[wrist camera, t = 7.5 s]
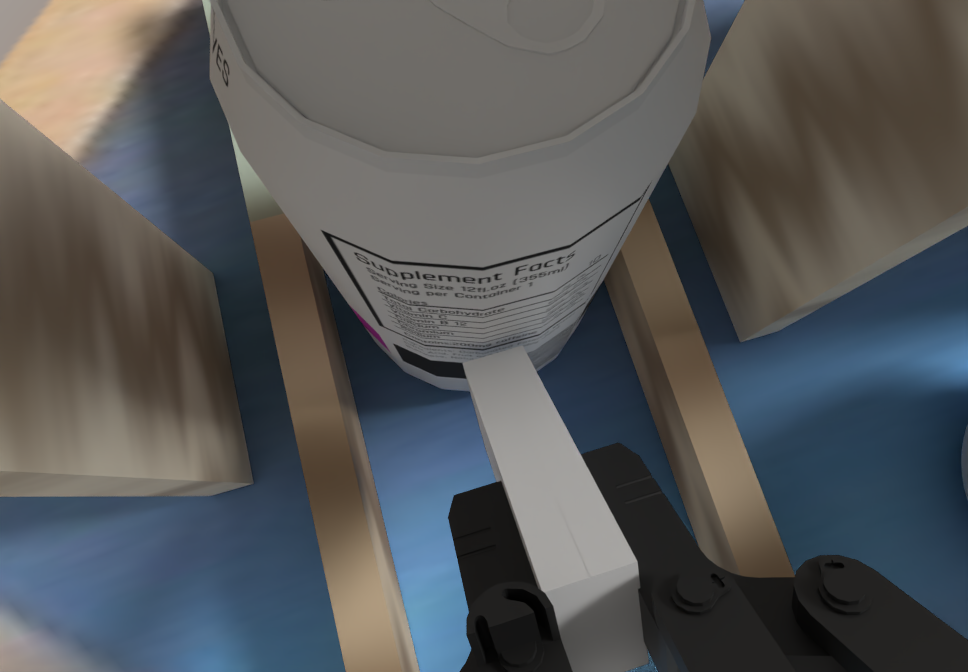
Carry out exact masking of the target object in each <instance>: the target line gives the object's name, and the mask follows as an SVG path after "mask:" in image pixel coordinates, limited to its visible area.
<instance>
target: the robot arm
mask: <svg viewBox="0 0 968 672" xmlns="http://www.w3.org/2000/svg"><path fill="white" fill-rule="evenodd" d="M463 367H464V371H465V375H466V378H467V382H468V386H469V389H470V393H471V397H472V401H473V404H474V408H475V412H476V415H477V419H478V423H479V427H480V430H481V434H482V438H483V441H484V445H485V449H486V452H487V455H488V458H489V461H490V464H491V467H492V470H493V473H494V476H495V479H496V482H495V483H492V484H489V485H486V486H482V487H479V488H476V489H473V490H469V491H466V492H463V493H460V494H457V495H454V497H453V501H452V505H451V508H450V512H449V516H448V519H449V523H450V528H451V532H452V537H453V541H454V546H455V550H456V555H457V559H458V564H459V569H460V573H461V578H462V582H463V587H464V591H465V596H466V600H467V605H468V609H469V614H468V617H467V638H468V640H469V643H470V646H471V652H470V654H469V657H468V659H467V661H466V663H465V665H464V666H463V667H462V669H461V670H460V672H625V671H628V670H631V669H634V668H637V667H640V666H643V665H646V664H649V659H648V651H649V653H650V655H651V657H652V659H653V662H654V664H655V666H656V668H657V670H658V672H968V640H967V639H966V638H964V637H963V636H962V635H960V634H959V633H958V632H956V631H955V630H954V629H952V628H951V627H950V626H948V625H947V624H946V623H944V622H943V621H942V620H940V619H939V618H938V617H936V616H935V615H934V614H933V613H931V612H930V611H929V610H927V609H926V608H925V607H923V606H922V605H921V604H919V603H918V602H917V601H915V600H914V599H913V598H911V597H910V596H909V595H907V594H906V593H905V592H903V591H902V590H901V589H899V588H898V587H897V586H895V585H894V584H893V583H891V582H890V581H889V580H887V579H886V578H885V577H883V576H882V575H881V574H879V573H878V572H877V571H876V570H874V569H872V568H870V567H869V566H867V565H865V564H863V563H862V562H860V561H858V560H855V559H851V558H847V557H844V556H840V555H820V556H817V557H815V558H812V559H809V560H807V561H805V562H804V563H803V564H802V565H801V567H800V568H799V569H798V570H797V571H796V575H795V577H766V578H757V577H746V576H741V575H738V574H734V573H731V572H729V571H726V570H724V569H723V568H721V567H719V566H717V565H716V564H714V563H713V562H712V561H711V560H709V559H708V558H707V557H706V556H705V554H704V553H703V552H702V551H701V550H700V548H699V547H698V545H697V544H696V542H695V540H694V539H693V537H692V536H691V534H690V533H689V531H688V530H687V528H686V527H685V525H684V524H683V522H682V521H681V519H680V518H679V516H678V515H677V513H676V511H675V510H674V508H673V507H672V505H671V504H670V502H669V501H668V499H667V498H666V496H665V495H664V494H663V493H662V491H661V489H660V487H659V485H658V484H657V482H656V481H655V479H654V478H652V475H651V473H650V472H649V470H648V469H647V467H646V466H645V464H644V463H643V461H642V459H641V458H640V456H639V455H637V454H636V453H634V452H633V451H631V450H630V449H628V448H627V447H625V446H624V445H622V444H621V443H615V444H612V445H609V446H606V447H603V448H599V449H596V450H593V451H590V452H587V453H583V454H580V453H579V451H578V449H577V447H576V445H575V443H574V441H573V439H572V437H571V436H570V434H569V432H568V430H567V428H566V426H565V424H564V422H563V421H562V419H561V417H560V415H559V413H558V411H557V409H556V407H555V406H554V404H553V402H552V400H551V398H550V396H549V394H548V392H547V390H546V389H545V387H544V385H543V383H542V381H541V379H540V377H539V375H538V374H537V372H536V370H535V368H534V366H533V364H532V362H531V360H530V358H529V357H528V355H527V353H526V351H525V349H524V347H523V345H522V346H519V347H515V348H512V349H508V350H505V351H502V352H498V353H495V354H491V355H488V356H485V357H481V358H478V359H474V360H471V361H468V362H464V363H463ZM647 649H648V650H647Z"/></svg>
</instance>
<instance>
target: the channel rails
mask: <svg viewBox="0 0 968 672" xmlns="http://www.w3.org/2000/svg"><path fill="white" fill-rule="evenodd" d="M202 1H203V6H204V11H205V15H206V20H207V25H208V29H209V34H210V19H211V3H210V0H202ZM229 128H230V126H229ZM230 132H231V137H232V142H233V146H234V151H235V156H236V160H237V165H238V170H239V174H240V179H241V184H242V188H243V193H244V198H245V202H246V207H247V212H248V216H249V221H250V226H251V230H252V235H253V240H254V244H255V249H256V254H257V258H258V263H259V268H260V273H261V277H262V282H263V287H264V291H265V296H266V301H267V305H268V310H269V315H270V319H271V324H272V329H273V333H274V338H275V343H276V347H277V352H278V357H279V361H280V366H281V371H282V375H283V380H284V385H285V389H286V394H287V399H288V403H289V408H290V413H291V417H292V422H293V427H294V432H295V436H296V441H297V446H298V450H299V455H300V460H301V464H302V469H303V474H304V478H305V483H306V488H307V492H308V497H309V502H310V506H311V511H312V516H313V520H314V525H315V530H316V534H317V539H318V544H319V548H320V553H321V558H322V562H323V567H324V572H325V576H326V581H327V586H328V591H329V595H330V600H331V605H332V609H333V614H334V619H335V623H336V628H337V633H338V637H339V642H340V647H341V651H342V656H343V661H344V665H345V670H346V672H420V670H419V666H418V662H417V658H416V654H415V650H414V645H413V641H412V637H411V633H410V629H409V625H408V620H407V616H406V612H405V608H404V604H403V600H402V595H401V591H400V587H399V583H398V579H397V575H396V571H395V566H394V562H393V558H392V554H391V550H390V546H389V541H388V537H387V533H386V529H385V525H384V521H383V516H382V512H381V508H380V504H379V500H378V496H377V491H376V487H375V483H374V479H373V475H372V471H371V467H370V462H369V458H368V454H367V450H366V446H365V442H364V437H363V433H362V429H361V425H360V421H359V417H358V412H357V408H356V404H355V400H354V396H353V392H352V387H351V383H350V379H349V375H348V371H347V367H346V362H345V358H344V354H343V350H342V346H341V342H340V338H339V333H338V329H337V325H336V321H335V317H334V313H333V308H332V304H331V300H330V296H329V292H328V288H327V283H326V279H325V275H324V271H323V267H322V266H321V265H320V263H319V262H318V260H317V259H316V258H315V256H314V255H313V253H312V252H311V250H310V249H309V248H308V246H307V245H306V243H305V242H304V241H303V239H302V238H301V236H300V235H299V233H298V232H297V231H296V229H295V228H294V226H293V225H292V224H291V222H290V221H289V219H288V218H287V217H286V215H285V214H284V212H283V211H282V209H281V208H280V207H279V205H278V204H277V202H276V201H275V200H274V198H273V197H272V195H271V194H270V193H269V191H268V190H267V188H266V187H265V185H264V184H263V183H262V181H261V180H260V178H259V177H258V176H257V174H256V173H255V171H254V170H253V168H252V167H251V166H250V164H249V163H248V161H247V160H246V159H245V157H244V156H243V154H242V153H241V152H240V149H239V147H238V145H237V142H236V140H235V137H234V135H233V133H232V130H231V128H230ZM604 282H605V285H606V288H607V290H608V293H609V296H610V299H611V302H612V304H613V307H614V310H615V313H616V316H617V318H618V321H619V324H620V327H621V330H622V332H623V335H624V338H625V341H626V344H627V346H628V349H629V352H630V355H631V358H632V360H633V363H634V366H635V369H636V372H637V375H638V377H639V380H640V383H641V386H642V389H643V391H644V394H645V397H646V400H647V403H648V405H649V408H650V411H651V414H652V417H653V419H654V422H655V425H656V428H657V431H658V433H659V436H660V439H661V442H662V445H663V448H664V450H665V453H666V456H667V459H668V462H669V464H670V467H671V470H672V473H673V476H674V478H675V481H676V484H677V487H678V490H679V492H680V495H681V498H682V501H683V504H684V506H685V509H686V512H687V515H688V518H689V520H690V523H691V526H692V529H693V532H694V535H695V537H696V540H697V543H698V546H699V548H700V550H701V551H702V552H703V553H704V554H705V556H706V557H707V558H708V559H709V560H711V561H712V562H713V563H714V564H716V565H717V566H719V567H721V568H723V569H724V570H726V571H729V572H731V573H734V574H738V575H741V576H746V577H757V578H766V577H795V574H794V572H793V569H792V566H791V564H790V561H789V559H788V556H787V554H786V551H785V548H784V546H783V543H782V541H781V538H780V535H779V533H778V530H777V528H776V525H775V523H774V520H773V517H772V515H771V512H770V510H769V507H768V505H767V502H766V499H765V497H764V494H763V492H762V489H761V487H760V484H759V481H758V479H757V476H756V474H755V471H754V469H753V466H752V463H751V461H750V458H749V456H748V453H747V450H746V448H745V445H744V443H743V440H742V438H741V435H740V432H739V430H738V427H737V425H736V422H735V420H734V417H733V414H732V412H731V409H730V407H729V404H728V402H727V399H726V396H725V394H724V391H723V389H722V386H721V384H720V381H719V378H718V376H717V373H716V371H715V368H714V365H713V363H712V360H711V358H710V355H709V353H708V350H707V347H706V345H705V342H704V340H703V337H702V335H701V332H700V329H699V327H698V324H697V322H696V319H695V317H694V314H693V311H692V309H691V306H690V304H689V301H688V299H687V296H686V293H685V291H684V288H683V286H682V283H681V280H680V278H679V275H678V273H677V270H676V268H675V265H674V262H673V260H672V257H671V255H670V252H669V250H668V247H667V244H666V242H665V239H664V237H663V234H662V232H661V229H660V226H659V224H658V221H657V219H656V216H655V214H654V211H653V208H652V206H651V203H650V201H649V199H648V201H647V202H646V204H645V206H644V208H643V210H642V211H641V213H640V215H639V217H638V219H637V220H636V222H635V224H634V226H633V228H632V229H631V231H630V233H629V235H628V237H627V238H626V240H625V242H624V244H623V246H622V247H621V249H620V251H619V253H618V255H617V256H616V258H615V260H614V262H613V264H612V265H611V267H610V269H609V271H608V273H607V274H606V276H605V278H604Z"/></svg>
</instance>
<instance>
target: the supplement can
mask: <svg viewBox="0 0 968 672" xmlns="http://www.w3.org/2000/svg"><path fill="white" fill-rule="evenodd" d="M210 3H211V19H210V81H211V83H212V86H213V88H214V90H215V93H216V95H217V97H218V100H219V102H220V104H221V107H222V109H223V112H224V114H225V116H226V119H227V121H228V123H229V126H230V128H231V130H232V133H233V135H234V137H235V140H236V142H237V145H238V147H239V149H240V152H241V153H242V154H243V156H244V157H245V159H246V160H247V161H248V163H249V164H250V166H251V167H252V168H253V170H254V171H255V173H256V174H257V176H258V177H259V178H260V180H261V181H262V183H263V184H264V185H265V187H266V188H267V190H268V191H269V193H270V194H271V195H272V197H273V198H274V200H275V201H276V202H277V204H278V205H279V207H280V208H281V209H282V211H283V212H284V214H285V215H286V217H287V218H288V219H289V221H290V222H291V224H292V225H293V226H294V228H295V229H296V231H297V232H298V233H299V235H300V236H301V238H302V239H303V241H304V242H305V243H306V245H307V246H308V248H309V249H310V250H311V252H312V253H313V255H314V256H315V258H316V259H317V260H318V262H319V263H320V265H321V266H322V267H323V269H324V270H325V272H326V273H327V274H328V276H329V277H330V279H331V280H332V282H333V283H334V284H335V286H336V287H337V289H338V290H339V291H340V293H341V294H342V296H343V297H344V298H345V300H346V301H347V303H348V304H349V306H350V307H351V308H352V310H353V311H354V313H355V314H356V315H357V317H358V318H359V320H360V321H361V323H362V324H363V325H364V327H365V328H366V330H367V331H368V332H369V334H370V335H371V337H372V338H373V339H374V341H375V342H376V344H377V345H378V346H379V347H380V348H381V349H382V350H383V351H384V352H385V353H386V354H387V355H388V356H389V357H390V358H391V359H392V360H393V361H394V362H395V363H396V364H397V365H398V366H399V367H400V368H401V369H402V370H403V371H404V372H405V373H408V374H410V375H412V376H414V377H416V378H419V379H421V380H423V381H425V382H427V383H430V384H432V385H434V386H436V387H438V388H441V389H446V390H459V391H470V389H469V386H468V382H467V378H466V375H465V371H464V367H463V363H464V362H468V361H471V360H474V359H478V358H481V357H485V356H488V355H491V354H495V353H498V352H502V351H505V350H508V349H512V348H515V347H519V346H522V345H523V347H524V349H525V351H526V353H527V355H528V357H529V358H530V360H531V362H532V364H533V366H534V368H535V370H536V372H537V371H539V370H540V369H542V368H543V367H544V366H546V365H547V364H549V363H550V362H551V361H553V360H554V359H556V358H557V356H558V355H559V353H560V352H561V350H562V349H563V347H564V346H565V344H566V343H567V341H568V340H569V338H570V337H571V335H572V334H573V332H574V331H575V329H576V328H577V326H578V325H579V323H580V321H581V319H582V318H583V316H584V314H585V312H586V310H587V309H588V307H589V305H590V303H591V301H592V300H593V298H594V296H595V294H596V292H597V291H598V289H599V287H600V285H601V283H602V282H603V280H604V278H605V276H606V274H607V273H608V271H609V269H610V267H611V265H612V264H613V262H614V260H615V258H616V256H617V255H618V253H619V251H620V249H621V247H622V246H623V244H624V242H625V240H626V238H627V237H628V235H629V233H630V231H631V229H632V228H633V226H634V224H635V222H636V220H637V219H638V217H639V215H640V213H641V211H642V210H643V208H644V206H645V204H646V202H647V201H648V199H649V197H650V195H651V193H652V192H653V190H654V188H655V186H656V184H657V183H658V181H659V179H660V177H661V175H662V174H663V172H664V170H665V168H666V166H667V165H668V163H669V161H670V159H671V157H672V156H673V154H674V152H675V150H676V148H677V146H678V145H679V143H680V141H681V139H682V137H683V136H684V134H685V132H686V130H687V128H688V127H689V125H690V123H691V121H692V119H693V118H694V116H695V114H696V112H697V107H698V102H699V97H700V92H701V86H702V81H703V76H704V71H705V66H706V61H707V56H708V51H709V46H710V41H711V34H710V30H709V25H708V21H707V16H706V12H705V7H704V2H703V0H210Z"/></svg>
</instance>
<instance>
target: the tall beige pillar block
mask: <svg viewBox="0 0 968 672" xmlns="http://www.w3.org/2000/svg"><path fill="white" fill-rule="evenodd" d="M668 164H669V167H670V169H671V172H672V174H673V177H674V179H675V182H676V184H677V187H678V189H679V192H680V194H681V197H682V199H683V202H684V204H685V207H686V209H687V212H688V214H689V217H690V219H691V221H692V224H693V226H694V229H695V231H696V234H697V236H698V239H699V241H700V244H701V246H702V249H703V251H704V254H705V256H706V259H707V261H708V264H709V266H710V269H711V271H712V274H713V276H714V279H715V281H716V284H717V286H718V289H719V291H720V293H721V296H722V298H723V301H724V303H725V306H726V308H727V311H728V313H729V316H730V318H731V321H732V323H733V326H734V328H735V331H736V333H737V336H738V338H739V341H740V342H743V341H747V340H750V339H754V338H757V337H760V336H764V335H767V334H771V333H774V332H778V331H780V330H782V329H783V328H785V327H787V326H789V325H791V324H792V323H794V322H796V321H798V320H800V319H801V318H803V317H805V316H807V315H809V314H810V313H812V312H814V311H816V310H817V309H819V308H821V307H823V306H825V305H826V304H828V303H830V302H832V301H834V300H835V299H837V298H839V297H841V296H843V295H844V294H846V293H848V292H850V291H852V290H853V289H855V288H857V287H859V286H861V285H862V284H864V283H866V282H868V281H870V280H871V279H873V278H875V277H877V276H879V275H880V274H882V273H884V272H886V271H888V270H889V269H891V268H893V267H895V266H897V265H898V264H900V263H902V262H904V261H906V260H907V259H909V258H911V257H913V256H915V255H916V254H918V253H920V252H922V251H923V250H925V249H927V248H929V247H931V246H932V245H934V244H936V243H938V242H940V241H941V240H943V239H945V238H947V237H949V236H950V235H952V234H954V233H956V232H958V231H959V230H961V229H963V228H965V227H967V226H968V0H745V1H744V3H743V5H742V7H741V9H740V11H739V12H738V14H737V16H736V18H735V20H734V22H733V24H732V26H731V28H730V30H729V31H728V33H727V35H726V37H725V39H724V41H723V43H722V45H721V47H720V48H719V50H718V52H717V54H716V56H715V58H714V60H713V62H712V64H711V66H710V67H709V69H708V71H707V73H706V75H705V77H704V79H703V81H702V86H701V92H700V97H699V102H698V107H697V112H696V114H695V116H694V118H693V119H692V121H691V123H690V125H689V127H688V128H687V130H686V132H685V134H684V136H683V137H682V139H681V141H680V143H679V145H678V146H677V148H676V150H675V152H674V154H673V156H672V157H671V159H670V161H669V163H668ZM251 484H254V482H253V476H252V471H251V466H250V461H249V456H248V451H247V445H246V440H245V435H244V430H243V425H242V420H241V415H240V409H239V404H238V399H237V394H236V389H235V384H234V378H233V373H232V368H231V363H230V358H229V353H228V347H227V342H226V337H225V332H224V327H223V322H222V317H221V311H220V306H219V301H218V296H217V291H216V286H215V280H214V275H213V273H212V272H211V271H210V270H208V269H207V268H206V267H205V266H204V265H202V264H201V263H200V262H199V261H197V260H196V259H195V258H194V257H193V256H191V255H190V254H189V253H188V252H186V251H185V250H184V249H183V248H182V247H180V246H179V245H178V244H177V243H176V242H174V241H173V240H172V239H171V238H169V237H168V236H167V235H166V234H165V233H163V232H162V231H161V230H160V229H158V228H157V227H156V226H155V225H154V224H152V223H151V222H150V221H149V220H147V219H146V218H145V217H144V216H143V215H141V214H140V213H139V212H138V211H136V210H135V209H134V208H133V207H132V206H130V205H129V204H128V203H127V202H125V201H124V200H123V199H122V198H121V197H119V196H118V195H117V194H116V193H114V192H113V191H112V190H111V189H110V188H108V187H107V186H106V185H105V184H103V183H102V182H101V181H100V180H99V179H97V178H96V177H95V176H94V175H92V174H91V173H90V172H89V171H88V170H86V169H85V168H84V167H83V166H81V165H80V164H79V163H78V162H77V161H75V160H74V159H73V158H72V157H71V156H69V155H68V154H67V153H66V152H64V151H63V150H62V149H61V148H60V147H58V146H57V145H56V144H55V143H53V142H52V141H51V140H50V139H49V138H47V137H46V136H45V135H44V134H42V133H41V132H40V131H39V130H38V129H36V128H35V127H34V126H33V125H31V124H30V123H29V122H28V121H27V120H25V119H24V118H23V117H22V116H20V115H19V114H18V113H17V112H16V111H14V110H13V109H12V108H11V107H9V106H8V105H7V104H6V103H5V102H3V101H2V100H1V99H0V497H89V496H213V495H216V494H220V493H223V492H227V491H230V490H234V489H237V488H240V487H244V486H247V485H251Z"/></svg>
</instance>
